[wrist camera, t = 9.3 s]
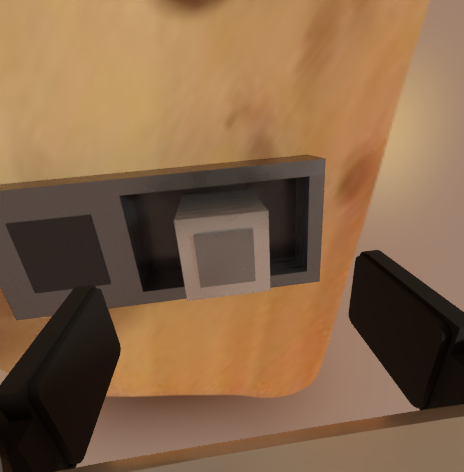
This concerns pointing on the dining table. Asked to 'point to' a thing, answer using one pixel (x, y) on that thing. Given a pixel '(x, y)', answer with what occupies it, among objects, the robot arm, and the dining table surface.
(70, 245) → the grey tray with recess
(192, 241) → the gray cube
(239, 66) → the dining table surface
